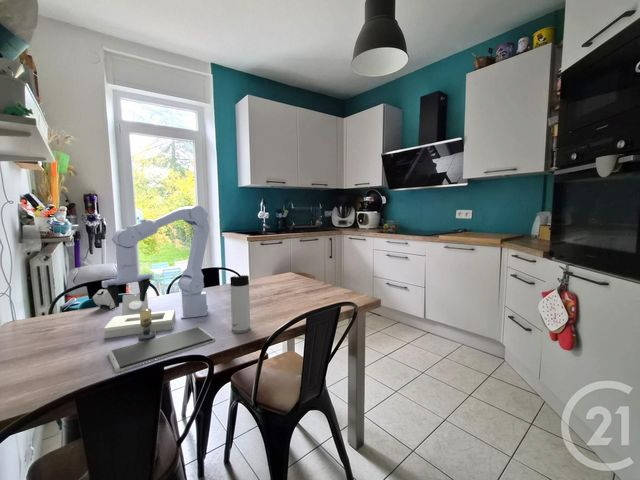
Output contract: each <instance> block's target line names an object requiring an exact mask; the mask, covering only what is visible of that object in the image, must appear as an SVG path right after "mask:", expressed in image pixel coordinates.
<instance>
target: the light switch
mask: <svg viewBox="0 0 640 480" xmlns="http://www.w3.org/2000/svg"><path fill="white" fill-rule="evenodd" d="M148 301H149V300H148V293H147V292H146V296H145V301H143V302H142V301H140V292H138V293H131V294H130V293H129V294H123V295H122V312H121V313H122V315H121V316H124V315H133V314H140V310H142V309H149V302H148Z"/></svg>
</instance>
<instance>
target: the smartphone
mask: <svg viewBox="0 0 640 480" xmlns="http://www.w3.org/2000/svg"><path fill="white" fill-rule="evenodd" d="M215 341H216V338H215V337H214V336H213V335H211V334H210V333H209V332H208V331H206V330H205V329H203V328H202V327H201V326H198V327H192V328H190V329H186V330H183V331H178V332H175V333H172V334H171V333H170V334H169V335H168V334H167V335H164V336H161V337H157V338H156V337H155V338H153V339H151V340H147V341H140V342H138V343H134V344H131V345H127V346H123V347H119V348H115V349H112V350H109V351H108V352H107V357H108V359H109V361H110V363H111V365H112V369H113V370H114V372H115V373H120V371H121V372H123V371H122V370H124V371H126V370H125V369H127V370H129V369H128V368H130V369H132V368H131V367H133V368H135V367H134V366H136V367H138V366H137V365H140V364H143V363H146V362H149V361H152V360H155V359H158V360H160V359H159V358H161V359H163V358H162V357H164V358H166V357H165V356H167V357H170V355H171V356H174V355H177V354H179V352H180V353H183V352H185V350H186V351H188V350H192V349H194V348H198V347H202V346H205V345H207V344H211V343H213V342H215ZM182 351H183V352H182ZM176 353H177V354H176ZM173 354H174V355H173ZM155 361H156V360H155ZM152 362H153V361H152ZM149 363H150V362H149ZM146 364H147V363H146ZM143 365H144V364H143ZM140 366H141V365H140Z"/></svg>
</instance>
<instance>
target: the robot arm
mask: <svg viewBox="0 0 640 480" xmlns="http://www.w3.org/2000/svg"><path fill="white" fill-rule="evenodd" d="M208 215H209V213H208V212H207V211H206V209H205V208H204V207H203V206H202V205H195V206H194V205H192V206H191V205H185V206H183V207H178V208H176V209H174V210H172V211H170V212H168V213H166V214H164V215H162V216H159V217H158V218H156V219H154V220H153V219H149V218H146V219H145V218H142V219H140V220H139V222H138V223H136V224H133V225H128V226H126V229H119V230H116V231H115V233H113V236H112V238H111V240H112V242H113V244H114V245H115V255H116V258H115V259H116V269H117V277H115V278H111V279H107V280H102V281H101V287H102V289H103V288H104V289H105V290H107V291H108V292H109V293H110V295H111V297H112V299H113V301H114V304H115V307H114V308H119V307H120V300H119V290H120V289H119V288H118V286H119V285H125V284H126V285H127V284H131V283H138V288H139V293H140V301H142V302H143V301H145V296H146V292H147V291H148V289H149V287H150V285H151V283H152V282H151V280H153V274H152V273H142V274H139V273H138V258H137V246H136V245H137V244H138V243H139V242H141V241H143V240H145V239H147V238H149V237H151V236H153V235H156V234H158V230H159V229H160V228H162V227H164V226H167V225H170V224H172V223H174V222H177V221H179V220H180V221H181V220H182V221H184V222H185V223H187V224H188V225H190V227H191V228H192V229H193V231H194V232H193V236H192V241H191V246H190V251H189V256H188V260H187V265H186V268H185V269H184V270H183V271H182V273H181V277H180V278H179V279H178V282H177V285H178V287H179V289H180V290H181V309H182V311H181V315H180V319H187V318H197V317H205V316H208V307H209V306H208V301H207V300H208V299H207V291H203V290H204V287H205V283H204V277H205V275H204V274H203V271H202V267H203V262H204V256H205V251H206V247H207V243H208V237H209V232H210V225H209V221H208Z"/></svg>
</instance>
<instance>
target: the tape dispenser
mask: <svg viewBox="0 0 640 480" xmlns="http://www.w3.org/2000/svg"><path fill="white" fill-rule="evenodd" d="M92 300H93V302H94V304H95V305H97V306H98V308H99V309H105V310H106V309H107V310H112V308H113V309H114V308H115V307H114V306H115V304H114V301H113V299H112V297H111V295H110V293H109V292H108V291H107V289H103V288H101V289H99V290H97V292H96V293H95V294H94V295H93V296H92Z"/></svg>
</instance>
